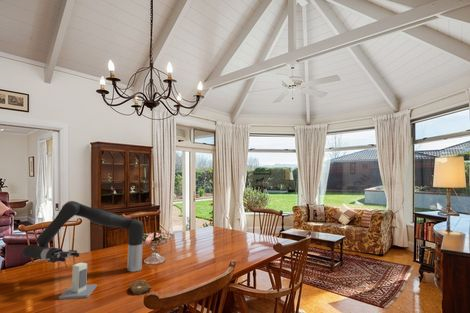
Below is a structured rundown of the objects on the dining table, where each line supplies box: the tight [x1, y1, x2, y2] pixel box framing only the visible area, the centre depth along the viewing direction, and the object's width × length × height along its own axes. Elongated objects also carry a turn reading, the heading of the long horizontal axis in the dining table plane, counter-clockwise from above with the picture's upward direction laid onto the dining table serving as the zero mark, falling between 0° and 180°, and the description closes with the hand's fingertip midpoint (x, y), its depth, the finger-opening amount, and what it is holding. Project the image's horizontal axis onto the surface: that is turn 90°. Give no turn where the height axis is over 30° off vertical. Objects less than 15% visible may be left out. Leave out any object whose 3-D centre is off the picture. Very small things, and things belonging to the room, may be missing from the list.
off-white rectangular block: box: [71, 262, 88, 293], centre depth 147 cm, size 5×5×14 cm
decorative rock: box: [129, 279, 153, 296], centre depth 152 cm, size 11×4×15 cm
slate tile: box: [58, 283, 98, 300], centre depth 147 cm, size 14×14×1 cm
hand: (71, 257), depth 150 cm, fingers open, 8 cm apart
